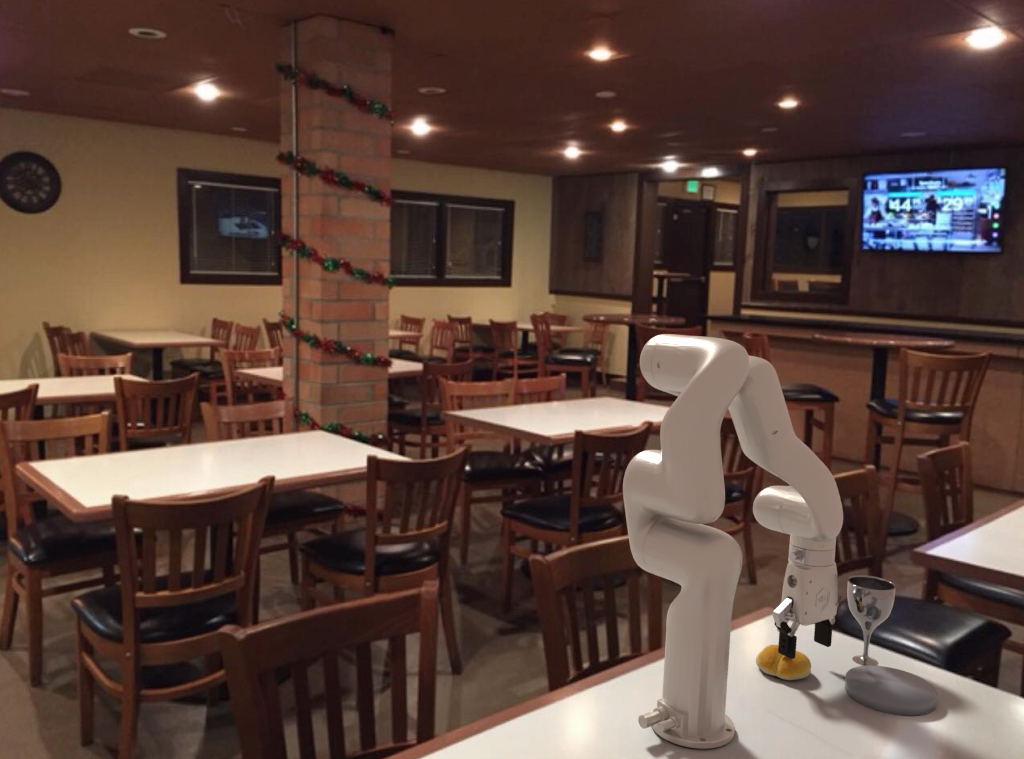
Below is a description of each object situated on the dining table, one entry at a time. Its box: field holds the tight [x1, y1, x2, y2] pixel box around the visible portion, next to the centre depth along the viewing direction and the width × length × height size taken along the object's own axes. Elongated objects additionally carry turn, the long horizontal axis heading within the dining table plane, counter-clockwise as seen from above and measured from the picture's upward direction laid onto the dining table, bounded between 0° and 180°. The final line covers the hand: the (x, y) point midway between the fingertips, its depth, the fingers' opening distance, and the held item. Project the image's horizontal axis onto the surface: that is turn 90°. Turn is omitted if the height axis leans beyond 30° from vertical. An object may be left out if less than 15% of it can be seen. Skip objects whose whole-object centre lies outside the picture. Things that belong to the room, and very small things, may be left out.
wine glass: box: [846, 574, 896, 666], centre depth 157 cm, size 8×8×15 cm
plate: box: [844, 665, 938, 717], centre depth 145 cm, size 14×14×2 cm
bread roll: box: [755, 644, 812, 681], centre depth 152 cm, size 8×9×4 cm
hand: (804, 649), depth 152 cm, fingers open, 9 cm apart
